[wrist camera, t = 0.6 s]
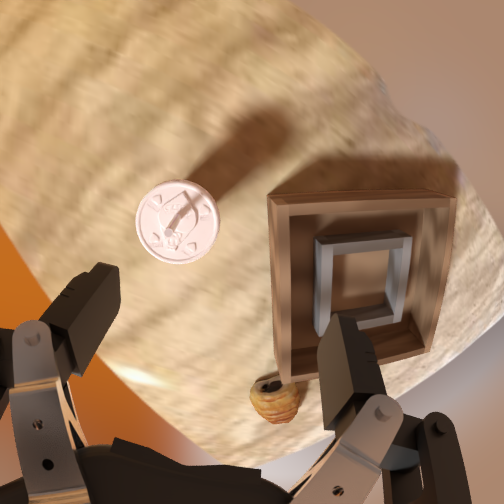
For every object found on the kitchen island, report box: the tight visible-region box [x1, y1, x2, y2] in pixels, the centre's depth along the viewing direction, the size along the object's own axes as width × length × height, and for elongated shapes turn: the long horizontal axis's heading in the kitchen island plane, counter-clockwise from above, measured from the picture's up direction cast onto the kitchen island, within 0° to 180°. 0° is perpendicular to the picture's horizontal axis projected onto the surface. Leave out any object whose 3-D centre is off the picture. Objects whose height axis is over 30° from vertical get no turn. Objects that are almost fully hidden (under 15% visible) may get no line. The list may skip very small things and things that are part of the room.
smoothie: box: [136, 179, 220, 264], centre depth 25 cm, size 6×6×14 cm
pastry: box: [250, 375, 300, 424], centre depth 40 cm, size 9×7×4 cm
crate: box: [267, 189, 457, 384], centre depth 33 cm, size 20×20×6 cm
